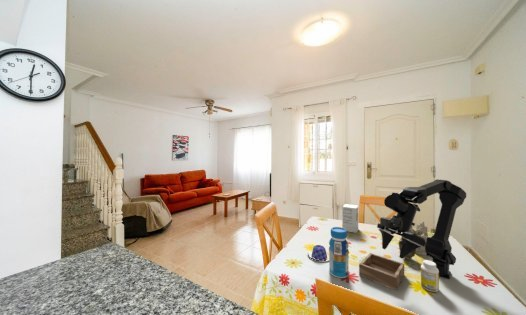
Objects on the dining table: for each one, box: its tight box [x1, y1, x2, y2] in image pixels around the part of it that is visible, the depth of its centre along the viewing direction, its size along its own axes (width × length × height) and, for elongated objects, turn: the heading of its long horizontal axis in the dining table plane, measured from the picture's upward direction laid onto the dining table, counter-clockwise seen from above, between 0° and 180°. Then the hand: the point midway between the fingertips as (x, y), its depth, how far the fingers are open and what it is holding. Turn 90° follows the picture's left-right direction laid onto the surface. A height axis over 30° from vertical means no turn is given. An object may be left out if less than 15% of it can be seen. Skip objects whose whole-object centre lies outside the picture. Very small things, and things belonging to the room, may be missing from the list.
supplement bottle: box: [420, 259, 440, 293], centre depth 80 cm, size 6×6×10 cm
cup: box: [398, 240, 417, 261], centre depth 102 cm, size 7×7×8 cm
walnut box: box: [358, 252, 405, 291], centre depth 89 cm, size 14×14×5 cm
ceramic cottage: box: [398, 221, 429, 256], centre depth 114 cm, size 16×16×15 cm
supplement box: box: [341, 203, 359, 234], centre depth 141 cm, size 10×9×17 cm
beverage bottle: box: [328, 226, 350, 279], centre depth 90 cm, size 8×8×20 cm
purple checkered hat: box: [311, 244, 329, 263], centre depth 105 cm, size 12×12×5 cm
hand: (391, 253), depth 80 cm, fingers open, 9 cm apart
